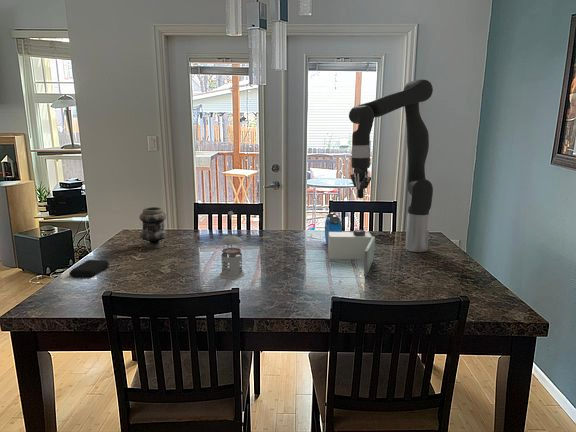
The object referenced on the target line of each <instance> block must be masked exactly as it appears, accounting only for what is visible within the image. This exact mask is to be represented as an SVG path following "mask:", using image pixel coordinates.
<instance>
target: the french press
mask: <svg viewBox="0 0 576 432" xmlns="http://www.w3.org/2000/svg"><path fill="white" fill-rule="evenodd" d="M227 214H228V215H229V217H230V218H232V216H233V215H234V212H233V210H230V211H228V212H227ZM220 242H221V243H222V244H223V245H226V246H230V247H226V248H225V247H224V248H223V249H222V250H221V252H222V253H221V255H220V256H221V257H220V258H221V272H220V273H219V275H220V276H219V277H220V278H221V277H222V279H224V278H225V280H236V279H237V280H238V279H241V278H242V277H245V275H246V274H245V272H244V270H243V254H242V252H241V251H242V250H241V248H238V247H233V245H237V244H238V245H239V244H240V243H242V242H243V239H242V238H240V237H239V236H236V235H232V232H230V235H228V236H225V237H222V238H221V239H220Z"/></svg>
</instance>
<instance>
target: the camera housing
mask: <svg viewBox="0 0 576 432" xmlns="http://www.w3.org/2000/svg"><path fill="white" fill-rule="evenodd" d="M372 236H373V235H372V234H371V233H370V232H368V231H365V230H362V229H355V230H353V231H342V232H329V236H328V245H327V256H328V259H329V260H358V261H359V260H360V261H361V260H364V257H365V250H366V248H367V246H368V244H369V242H370V240H371V238H372Z"/></svg>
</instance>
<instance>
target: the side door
mask: <svg viewBox="0 0 576 432" xmlns="http://www.w3.org/2000/svg"><path fill="white" fill-rule="evenodd" d="M371 236H372V238H371V240H370V242H369V244H368V246H367V248H366V250H365V257H364V261H363V263H364V264H363V277H367V276H368V274H369V271H370V269H371V266H372V264H373V261H374V260H375V242H376V241H375V240H376V237H375V236H373V235H371Z"/></svg>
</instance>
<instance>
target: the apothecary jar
mask: <svg viewBox="0 0 576 432" xmlns="http://www.w3.org/2000/svg"><path fill="white" fill-rule="evenodd" d="M165 219H167V215H166V213H165V212H164V210H163V208H162V207H158V206H149V207H144V208H142V213H141V214H140V215H139V220H140V221H141V222H142V231H141V232H140V234H139V235H140V237H139V238H141V240H144V241H146V242H147V243H145V244H143V248H144V249H150V250H153V249H154V250H155V249H160V248H163V247H165V246H166V243H165V242H164V241H163V242H162V240H165V238H166V237H167V235H168V232H167V230H166V229H165Z"/></svg>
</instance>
